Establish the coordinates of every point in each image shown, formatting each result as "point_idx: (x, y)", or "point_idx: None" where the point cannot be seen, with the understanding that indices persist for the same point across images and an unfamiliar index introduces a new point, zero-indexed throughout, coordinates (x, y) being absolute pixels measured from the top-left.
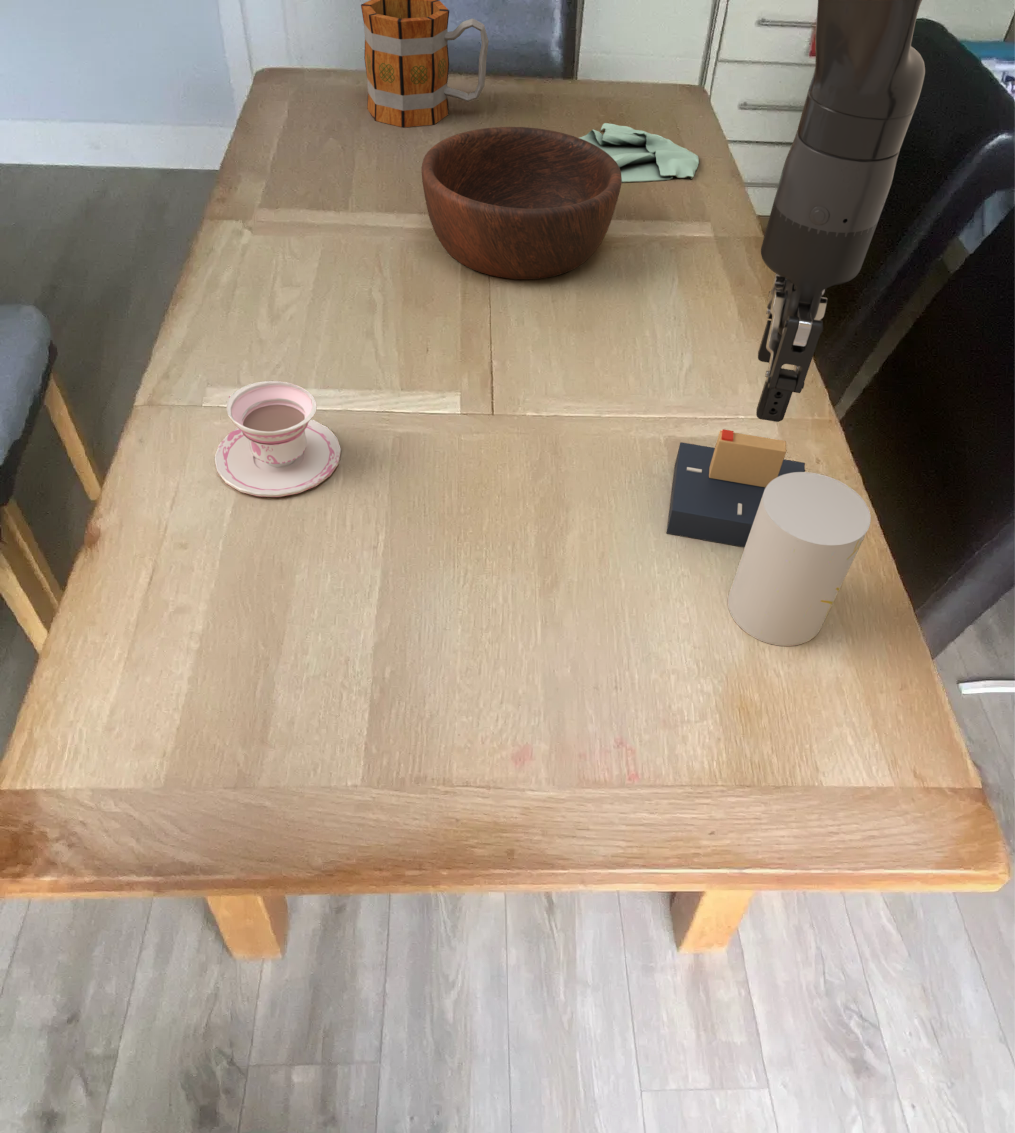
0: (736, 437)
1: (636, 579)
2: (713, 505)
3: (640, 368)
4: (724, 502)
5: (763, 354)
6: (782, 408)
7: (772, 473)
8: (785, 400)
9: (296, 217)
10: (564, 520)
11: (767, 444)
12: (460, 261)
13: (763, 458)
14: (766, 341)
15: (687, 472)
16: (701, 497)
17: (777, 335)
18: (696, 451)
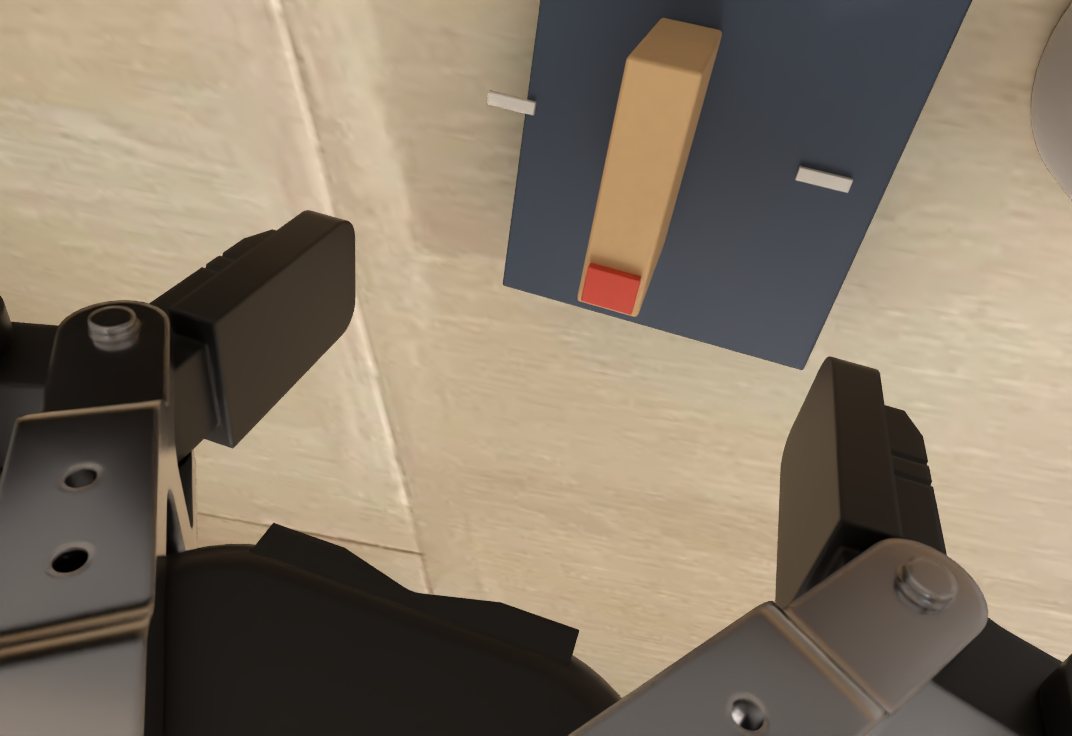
0: (616, 256)
1: (964, 421)
2: (793, 256)
3: (170, 255)
4: (780, 218)
5: (335, 322)
6: (927, 476)
7: (709, 69)
8: (938, 519)
9: None
10: (736, 511)
11: (656, 148)
12: None
13: (687, 139)
14: (292, 365)
15: None
16: (751, 281)
17: (264, 356)
18: (539, 249)
